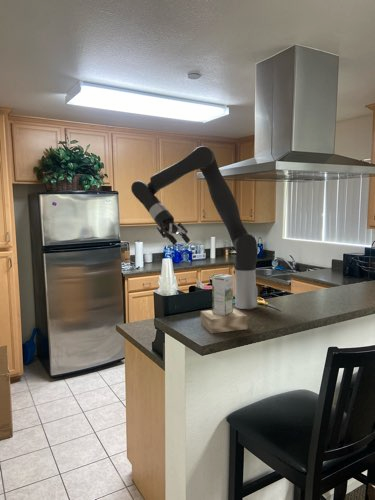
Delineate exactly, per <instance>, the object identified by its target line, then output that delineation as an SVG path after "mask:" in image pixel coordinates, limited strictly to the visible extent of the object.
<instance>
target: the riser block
mask: <svg viewBox="0 0 375 500" xmlns="http://www.w3.org/2000/svg"><path fill="white" fill-rule="evenodd" d="M200 325H201V326H203V327H204V328H205V329H206V330H207V331H208V332H209V333H210V334H217V333H224V332H226V333H227V332H233V331H240V330H241V331H242V330H248V315H247V314H245V313H244V312H242V311H240V310H239V309H238V308H236V307H233V312H232V313H230V314H228V315H225V316H224V315H218V314H213V313H212V309H211V310H210V309H209V310H208V309H207V310H201V311H200Z"/></svg>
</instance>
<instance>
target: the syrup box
mask: <svg viewBox="0 0 375 500" xmlns="http://www.w3.org/2000/svg"><path fill="white" fill-rule="evenodd" d="M211 281H212V282H211V284H212V285H211V286H212V287H211V290H212V291H211V292H212V293H211V295H212V298H211V299H212V300H211V301H212V306H211V307H212V308H211V310H212V313H213V314H218V315H224V316H225V315H228V314H230V313H232V312H233V308H234V276H233V275H232V274H227V273H220V274H216V275H213V276H212V277H211Z"/></svg>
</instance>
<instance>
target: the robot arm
mask: <svg viewBox="0 0 375 500" xmlns="http://www.w3.org/2000/svg"><path fill="white" fill-rule="evenodd" d="M217 162H218V161H217V160H216V157H215V154H214V152H213V150H212V148H211V147H208V146H205V145H201V146H198V147H195V149H194V150H193V151H191V152H190V153H189V154H187V156H185V157H184V158H182V159H181V160H179V161H177V162H175V163H174V164H172V165H170V166H168V167H166V168H164V169H162V170H160V171H158V172H156V173H155V174H153V175H151V176H150V178H149V182H148V183H145V182H144V181H142V180H135V181H133V182H132V184H131V188H130V189H131V193H132V194H133V196H134V197H135V198H136V200H138V201H139V202H140V203H141V204H142V206H143V207H144V208H145V209H146V211H147V213H149V216H150V217H151V218H152V220H153V221H154V222H155V224H156V225H157V227H156V230H157V231H158V232H159V234H160V235H161V236H162V238H166V239H168V240H169V241H170V243H172V245H173V246H175V245H176V244H177V242H178V239H176V237H175V236H174V234H175V235H176V236H179V237H181V238H182V240H183V241H184V242H185V243H186V244H189V242H190V241H191V238H189V236H188V235H187V234H188V232H189V231H188V230H187V229H186V227H185V226H184V225H183V224H182V223H181V222H178V223H176V222H175V217H174V216H173V214H172V213H171V212H170V211H169V210H168V209H167V207H166V206H165V205H164V204H163V203H162V202H161V200H160V199H159V198H158V197H157V196H156V194H157V193H158V192H159V191H160V190H162V189H164V188H165V187H168V186H169V185H171V184H173V183H175V182H176V181H178V180H179V179H180V178H182V177H183V176H185V175H187V174H190V173H191V172H194V171H197V170H200V172H201V174H202V175H203V177H204V179H205V181H206V184H207V188H208V192H209V196H210V198H211V200H212V204H213V205H214V208H215V210H216V211H217V213H218V215H219V217H220V219H221V221H222V222H223V224H224V226H225V228H226V229H227V231H228V235H229V237H230V240H231V242H232V245H233V249H234V250H235V251H236V252H235V254H236V255H235V258H236V259H235V263H234V303H235V306H234V308H235V309H238V310H239V309H240V310H253V309H255V308H258V304H259V303H258V302H259V301H258V300H259V299H258V297H259V296H258V285H257V284H256V282H257V281H256V279H257V278H256V275H257V274H256V268H257V262H258V243H257V239H256V238H255V236H253V235H252V234H249V233H248V231H247V230H246V227H245V226H244V224H243V222H242V219H241V215H240V211H239V206H238V203H237V201H236V198H235V196H234V194H233V192H232V191H231V189H230V187H229V185H228V183H227V181H226V179H225V177H223V175H222V173H221V171H220V168H219V165H218V163H217Z"/></svg>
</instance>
